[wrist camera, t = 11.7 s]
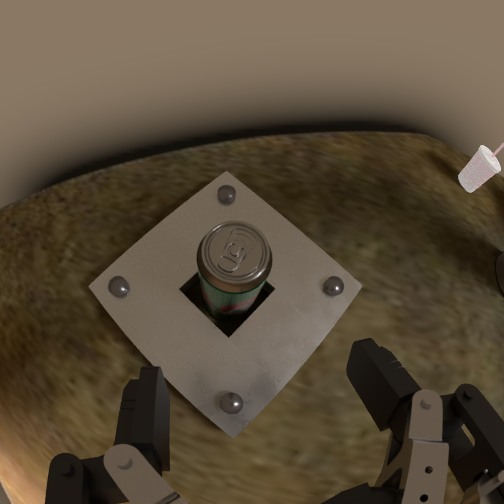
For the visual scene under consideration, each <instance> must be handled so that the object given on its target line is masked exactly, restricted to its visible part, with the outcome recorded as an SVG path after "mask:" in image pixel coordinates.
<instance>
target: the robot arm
mask: <svg viewBox="0 0 504 504" xmlns="http://www.w3.org/2000/svg"><path fill="white" fill-rule="evenodd" d="M496 274H497V279H498V283H499V286H500V288H501V290H502V292H503V294H504V251H502V254H501V255H499V256H498V257H497V260H496ZM346 371H347V376H348V378H349V380H350V382H351V384H352V385H353V387H354V388H355V390H356V392H357V393H358V395H359V397H360V398H361V400H362V402H363V403H364V405H365V407H366V408H367V410H368V412H369V413H370V415H371V416H372V418H373V420H374V421H375V423H376V425H377V426H378V428H379V430H380V432H381V431H384V430H386V429H388V428H390V429H391V431H392V432H391V434H390V437H389V442H388V447H387V451H386V456H385V460H384V464H383V468H382V471H381V473H380V475H379V477H378V479H377V481H376V483H375V486H374V487H369V485H368V483H364V484H362V485H359V486H356V487H354V488H351V489H348V490H345V491H343V492H340V493H339V494H337V495H335V496H334V497H332V498H330V499H328V500H327V501H325V502H323V503H321V504H443V500H444V493H445V486H446V478H447V467H448V465H449V467H450V469H451V471H452V472H453V474H454V476H455V478H456V479H457V481H458V483H459V485H460V487H461V489H462V490H463V492H464V496H463V499H462V501H461V502H460V504H504V422H503V420H502V419H501V418H500V416H499V415H498V414H497V412H496V411H495V410H494V409H493V407H492V406H491V405H490V403H489V402H488V401H487V400H486V398H485V397H484V396H483V395H482V394H481V392H480V391H479V390H478V389H477V388H476V387H475V386H473V385H471V384H462V385H460V386H459V387H458V388H457V390H456V391H455V393H454V394H448V395H441V396H439V395H438V394H437V393H436V392H434V391H431V390H426V389H425V390H422V389H421V388H420V387H419V385H418V384H417V383H416V382H415V380H414V379H413V378H412V377H411V375H410V374H409V373H408V372H407V371H406V369H405V368H404V367H402V365H401V363H400V362H399V361H397V358H396V357H395V356H394V355H393V354H392V352H390V351H389V350H387V349H385V348H384V347H382V346H381V347H379V346H378V345H377V344H376V343H375V341H374V340H373V339H372V338H367V339H363V340H359V341H355V342H354V343H353V345H352V348H351V352H350V356H349V360H348V363H347V368H346ZM463 424H465V426H466V427H467V428H468V430H469V431H470V433H471V434H472V436H473V437H474V439H475V446H473V445H472V443H471V442H470V440H469V439H468V437H467V436H466V434H465V433H464V431H463V430H462V428H461V426H462V425H463ZM169 431H170V398H169V392H168V388H167V385H166V382H165V379H164V376H163V372H162V369H161V367H160V366H150V367H141V371H140V377H139V379H130V381H129V382H128V384H127V385H126V386H125V388H124V390H123V395H122V402H121V406H120V412H119V417H118V423H117V430H116V436H115V442H114V445H113V447H111V448H110V449H109V450H108V451H107V452H106V453H105V454H104V455H102V456H99V457H94V458H88V459H82V460H79V458H77V457H76V456H75V455H73V454H70V453H61V454H58V455H57V456H55V457H54V458H53V459H52V461H51V463H50V467H49V473H48V480H47V488H46V498H45V504H119V503H125V502H130V503H131V504H188V503H187V502H186V501H185V500H184V499H183V498H182V497H181V496H180V495H179V494H177V493H176V492H175V491H174V490H173V489H172V488H171V487H170V486H169V485H168V484H167V483H166V482H165V481H164V480H163V478H162V471H170V448H169Z"/></svg>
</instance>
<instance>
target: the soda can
mask: <svg viewBox="0 0 504 504" xmlns="http://www.w3.org/2000/svg"><path fill="white" fill-rule="evenodd" d="M196 261H197V267H198V273H199V279H200V285H201V291H202V297H203V302H204V305H205V307H206V309H207V311H208V312H209V313H210V314H211V315H212V316H213V317H215V318H217V319H219V320H222V321H235V320H238V319H240V318H242V317H243V316H245V315H246V314H247V313H248V312H249V310H250V308H251V307H252V305H253V303H254V301H255V299H256V298H257V296H258V294H259V292H260V290H261V289H262V287H263V285H264V283H265V281H266V280H267V278H268V276H269V274H270V271H271V268H272V261H273V258H272V252H271V248H270V246H269V244H268V242H267V240H266V238H265V236H264V235H263V234H262V232H261V231H260V230H258V229H257V228H256V227H254V226H253V225H251V224H249V223H246V222H242V221H227V222H224V223H221V224H219V225H217V226H215V227H214V228H212V229H211V230H210V231H209V232H208V233H207V234H206V235H205V236H204V238H203V239H202V240H201V242H200V244H199V247H198V249H197V257H196Z"/></svg>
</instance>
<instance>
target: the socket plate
mask: <svg viewBox="0 0 504 504" xmlns="http://www.w3.org/2000/svg"><path fill="white" fill-rule="evenodd" d="M227 221H242V222H246V223H249V224H251V225H253V226H254V227H256V228H257V229H258V230H260V231H261V232H262V234H263V235H264V236H265V238H266V240H267V242H268V244H269V246H270V248H271V252H272V258H273V261H272V268H271V271H270V274H269V276H268V278H267V280H266V281H265V283H264V285H263V287H262V288H263V289H264V290H265V291H266V292H267V293H268V294H270V295H269V296H268V297H267V299H266V300H265V301H264V302H263V303H262V304H261V305H260V306H259V307H258V308H257V309H256V310H255V311H254V312H253V313H252V314H251V315H250V316H249V318H248V319H247V320H246V321H245V322H244V323H243V324H242V325H241V326H240V327H239V328H238V329H237V330H236V331H235V332H234V333H233V334H232V335H231V336H230V337H229V338H228V337H227V336H226V335H225V334H224V333H223V332H222V331H221V330H220V329H219V328H218V327H216V326H215V325H214V324H213V323H212V322H211V321H210V320H209V319H208V318H207V317H206V316H205V315H204V314H203V313H202V312H201V311H200V310H199V309H198V308H197V307H196V306H195V305H194V304H193V303H192V302H191V301H190V300H189V299H188V298H187V297H186V296H185V295H184V293H185V292H186V291H187V290H188V289H190V288H191V287H192V286H193V285H194V284H195V283H196V282H197V281H198V280H199V273H198V267H197V261H196V257H197V249H198V247H199V244H200V242H201V240H202V239H203V238H204V236H205V235H206V234H207V233H208V232H209V231H210V230H211V229H212V228H214V227H215V226H217V225H219V224H221V223H224V222H227ZM361 287H362V285H361V284H360V283H359V282H358V281H357V280H356V279H354V278H353V277H352V276H351V275H350V274H349V273H348V272H347V271H346V270H344V269H343V268H342V267H341V266H340V265H339V264H338V263H337V262H336V261H334V260H333V259H332V258H331V257H330V256H329V255H328V254H326V253H325V252H324V251H323V250H322V249H321V248H320V247H318V246H317V245H316V244H315V243H314V242H313V241H311V240H310V239H309V238H308V237H307V236H306V235H304V234H303V233H302V232H301V231H300V230H299V229H297V228H296V227H295V226H294V225H293V224H292V223H290V222H289V221H288V220H287V219H286V218H284V217H283V216H282V215H281V214H280V213H278V212H277V211H276V210H275V209H273V208H272V207H271V206H270V205H269V204H267V203H266V202H265V201H264V200H262V199H261V198H260V197H259V196H258V195H256V194H255V193H254V192H253V191H251V190H250V189H249V188H248V187H246V186H245V185H244V184H243V183H241V182H240V181H239V180H238V179H236V178H235V177H234V176H232V175H231V174H230V173H229V172H227V171H226V172H224V173H223V174H222V175H220V176H219V177H218V178H216V179H215V180H213V181H212V182H211V183H209V184H208V185H207V186H205V187H204V188H203V189H202V190H200V191H199V192H198V193H196V194H195V195H194V196H192V197H191V198H190V199H189V200H187V201H186V202H185V203H183V204H182V205H181V206H180V207H178V208H177V209H176V210H175V211H173V212H172V213H171V214H170V215H168V216H167V217H166V218H165V219H164V220H162V221H161V222H160V223H159V224H157V225H156V226H155V227H154V228H153V229H151V230H150V231H149V232H148V233H147V234H146V235H144V236H143V237H142V238H141V239H140V240H139V241H137V242H136V243H135V244H134V245H133V246H132V247H130V248H129V249H128V250H127V251H126V252H125V253H124V254H123V255H121V256H120V257H119V258H118V259H117V260H116V261H115V262H114V263H113V264H111V265H110V266H109V267H108V268H107V269H106V270H105V271H104V272H103V273H102V274H101V275H100V276H99V277H97V278H96V279H95V280H94V281H93V282H92V283H91V284H90V285H89V288H90V289H91V291H92V292H93V293H94V295H95V296H96V297H97V299H98V300H99V301H100V303H101V304H102V305H103V307H104V308H105V309H106V311H107V312H108V313H109V314H110V316H111V317H112V318H113V320H114V321H115V322H116V323H117V325H118V326H119V327H120V328H121V329H122V331H123V332H124V333H125V334H126V335H127V337H128V338H129V339H130V340H131V341H132V342H133V344H134V345H135V346H136V347H137V348H138V349H139V350H140V351H141V353H142V354H143V355H144V356H145V357H146V358H147V359H148V360H149V361H150V362H151V364H152V365H153V366H160V367H161V369H162V372H163V376H164V377H165V378H166V379H167V380H168V381H169V382H170V383H171V384H172V385H173V386H174V387H175V388H176V389H177V390H178V391H179V392H180V393H181V394H182V395H183V396H184V397H185V398H186V399H188V400H189V401H190V402H191V403H192V404H193V405H194V406H195V407H196V408H197V409H198V410H200V411H201V412H202V413H203V414H204V415H205V416H206V417H208V418H209V419H210V420H211V421H212V422H213V423H215V424H216V425H217V426H218V427H219V428H221V429H222V430H223V431H224V432H225V433H227V434H228V435H229V436H230V437H232V438H233V439H234V438H235V437H236V436H237V435H238V434H239V433H240V432H241V431H242V430H243V429H244V428H245V427H246V426H247V425H248V424H249V423H250V422H251V421H252V420H253V419H254V418H255V417H256V416H257V415H258V414H259V413H260V412H261V411H262V410H263V409H264V408H265V406H266V405H267V404H268V403H269V402H270V401H271V400H272V399H273V398H274V397H275V396H276V395H277V394H278V392H279V391H280V390H281V389H282V388H283V387H284V386H285V385H286V384H287V382H288V381H289V380H290V379H291V378H292V377H293V376H294V374H295V373H296V372H297V371H298V370H299V369H300V367H301V366H302V365H303V364H304V363H305V361H306V360H307V359H308V358H309V357H310V355H311V354H312V353H313V352H314V350H315V349H316V348H317V347H318V345H319V344H320V343H321V342H322V340H323V339H324V338H325V337H326V335H327V334H328V333H329V331H330V330H331V329H332V327H333V326H334V325H335V323H336V322H337V321H338V319H339V318H340V317H341V315H342V314H343V313H344V311H345V310H346V309H347V307H348V306H349V304H350V303H351V302H352V300H353V299H354V297H355V296H356V295H357V293H358V292H359V290H360V289H361Z"/></svg>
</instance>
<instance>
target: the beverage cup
mask: <svg viewBox="0 0 504 504" xmlns="http://www.w3.org/2000/svg"><path fill="white" fill-rule="evenodd" d="M503 146H504V143H503V144H502V145H501V146H500V147H499V148H498V149H497V150H496V151H495V152H494V153H492V152H491V151H490V150H489V149H488V148H487V147H485V146H483V145H481V146H480V147H479V149H478V152H477V153H476V154H475V155H474V157H473V158H472V159H471V160H470V162H469V163H468V164H467V165H466V166H465V168H464V169H463V170H462V171H461V172H460V174H459V175H458V179H459V181H460V183H461V185H462V186H463V188H464V189H465V190H466V191H468V192H470V193H471V192H473V191H474V190H475V189H477V188H478V187H479V186H481V185H482V184H483V183H484V182H486V181H487V180H488V179H489V178H490V177H492V176H493V175H494V174H495V173H498V172H499V171H501V167H500V164H499V162H498V160H497V159H496V157H495V155H496V154H497V153H498V152H499V151H500V150H501V148H502V147H503Z"/></svg>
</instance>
